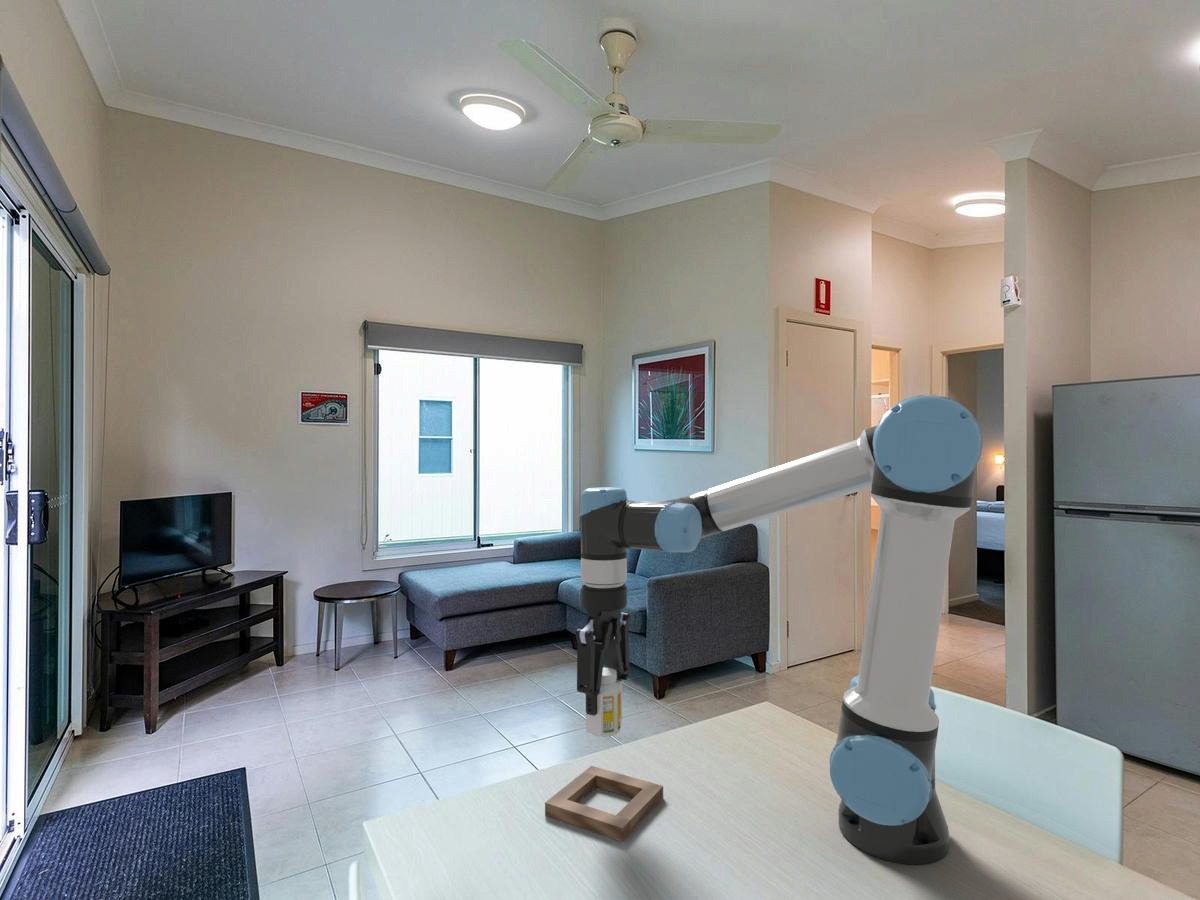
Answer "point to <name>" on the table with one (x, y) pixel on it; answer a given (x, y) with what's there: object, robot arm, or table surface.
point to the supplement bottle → (610, 703)
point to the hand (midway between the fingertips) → (604, 725)
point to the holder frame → (599, 821)
